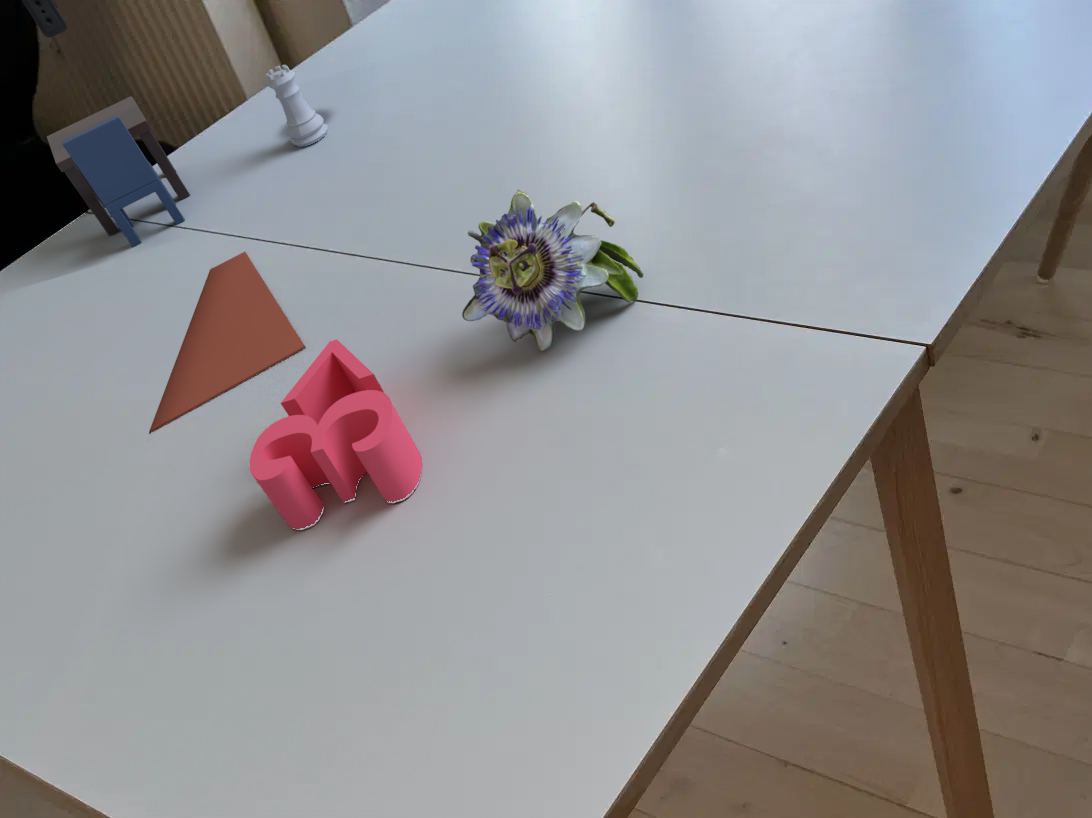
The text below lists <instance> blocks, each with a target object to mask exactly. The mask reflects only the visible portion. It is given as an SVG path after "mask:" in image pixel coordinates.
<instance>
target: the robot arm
mask: <svg viewBox="0 0 1092 818" xmlns="http://www.w3.org/2000/svg"><path fill="white" fill-rule="evenodd" d="M21 2H22V4H23V5H24V7H25V8H26V10H27V11H28V13H29V15H30V16H31V17H32V19H33V21H34V22H35V24H36V25H37V27H38V29H39V31H41V34H43V36H44V37H46V38H49V39H50V38H53V37H56V36H57V35H59V34H62V33H64V32H66V31H67V29H68V25H67V22H66V20H65V19H64V18H63V16H62V14H61V13H60V11H59V10H58V5H57V3H56V1H55V0H21Z"/></svg>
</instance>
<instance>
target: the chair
mask: <svg viewBox="0 0 1092 818" xmlns="http://www.w3.org/2000/svg"><path fill="white" fill-rule="evenodd" d="M62 145H63V146H64V148H65V149H66V151H67V152H68V154H69V155H70V157H71V158H72V159H73V161H74V162H75V164H76V165H77V167H78V168H79V170H80V171H81V173H82V174H83V175H84V177H85V178H86V180H87V181H88V183H89V184H90V186H91V187H92V189H93V190H94V191H95V193H96V194H97V196H98V197H99V199H100V200H101V202H102V203H103V205H104V206H105V209H106V211H107V212H108V214H109V215H110V217H111V218H112V220H113V221H114V222H115V224H116V225H117V227H118V229H119V230H120V231H121V232H122V234H123V236H124V237H125V239H126V240H127V241H128V243H129V244H130V245H131V247H132V248H134V247H136V246H138V245H140V244H141V243H142V240H141V239H140V237H139V236H138V234H137V233H136V231H135V230H134V228H133V227H134V223H133V221H132V219H130V217H129V215H128V214H127V212H126V211H125V210H124V208H126V207H128V206H130V205H132V204H134V203H136V202H138V201H140V200H142V199H145V198H146V197H148V196H150V195H152V194H154V193H155V194H156V195H157V197H158V199H159V200H160V202H161V203H162V205H163V206H164V208H165V210H166V211H167V213H168V215H169V216H170V217H171V219H172V220H173V222H174V223H175V225H179V224H181V223H182V222H183V223H184V222H185V221H186V220H185V218H184V216H183V214H182V213H181V211H180V210H179V208H178V206H177V203H176V202H175V200H174V198H173V196H172V195H171V193H170V192H169V191H168V188H167V187H166V186H165V184H164V183H163V181H162V179H161V178H160V176H159V175H158V172H156V170H155V168H154V167H153V165H152V164H151V162H150V161H148V159H147V158H146V156H145V155H144V153H143V152H142V150H141V149H140V147H139V145H138V143H137V142H136V140H135V139H134V138H133V137H132V136H131V134H130V133H129V131H128V130H127V128H126V126H125V125H124V123H123V122H122V120H121V119H120V117H119V115H116V116H114V117H112V118H110V119H108V120H106V121H103V122H101V123H99V124H97V125H95V126H93V127H91V128H89V129H87V130H85V131H83V132H81V133H79V134H76V135H74V136H72V137H70V138H68V139H66V140H64V141H62Z"/></svg>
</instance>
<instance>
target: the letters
mask: <svg viewBox="0 0 1092 818" xmlns="http://www.w3.org/2000/svg"><path fill="white" fill-rule="evenodd" d="M280 404H281V407H282V408H283V410H284V411H285V413H286V414H287V416H286V417H283V418H281V419H278V420H276V421H274V422H272V424H270V425H269V426H267V427H266V428H265V429H264V430H263V431H262V432H261V433H260V434H259V436H258V437H257V438H256V441H255V443H254V445H253V446H252V450H251V453H250V457H249V471H250V474H251V475H252V477H253V478H254V480H255V481H256V483H257V484H258V486H259V487H260V488H261V489H262V491H263V492H264V493H265V495H266V496H267V498H268V499H269V501H270V502H271V504H273V506H274V507H275V509H276V510H277V512H278V513H279V514H280V516H281V518H282V519H283V520H284V521H285V523H286V524H287V526H288V527H289V526H290V527H291V528H295V529H300V528H305V527H306V526H310V525H311V524H314V523H315V521H316V520H318V517H319V516H320V515H321V512H322V509H323V505H324V504H323V502H322V500H321V499H320V497H319V496H318V494H317V493H316V491H315V490H314V489H312V488H313V487H316V486H318V485H321V484H324V483H331V484H330V485H331V486H332V487H333V489H334V491H335V492H336V493H337V495H338V496H339V498H340V499H341V501H342V503H344V502H345V501H348V500H350V499H353V498H355V493H356V486H357V484H358V481H359V479H360V478H362V476H363V475H364V474H365V473H366V472H367V473H366V474H368V475H369V477H370V478H371V480H372V482H373V483H374V485H375V486H376V488H377V490H378V492H379V493H380V494H381V496H382V498H383V499H384V501H385V500H386V501H388V502H389V501H390V502H391V501H392V502H394V501H397V500H400V499H403V498H405V497H406V496H407V495H408V494H410V493H411V492H412V490H414V488H415V486H416V485H417V483H418V481H419V478H420V474H421V469H422V470H423V459H422V460H421V458H422V455H420V454H421V452H420V450H419V449H418V447H417V444H416V443H415V442H414V439H413V438H412V436H411V434H410V433H409V431H408V429H407V427H406V425H405V423H404V422H403V420H402V418H401V416H400V415H399V413H398V411H397V409H396V407H395V406H394V404H393V402H392V400H391V399H390V397H389V396H388V395H387V394H386V392H385V390H384V389H383V388H382V386H381V384H380V382H379V381H378V378H377V377H376V375H375V373H374V372H373V371H371V370H370V369H369V368H368V366H366V365H365V364H364V363H363V362H362V361H361V360H360V359H359V358H357V357H356V356H355V355H354V354H353V353H352V352H351V351H350V350H349V349H348V348H347V347H346V346H345V345H343V343H342V342H340V340H338V339H337V338H336V339H334V340H330V341H329V342H327V344H326V346H325V347H324V348H323V349H322V350H321V351H320V353H319V354H318V356H317V357H316V358H315V359H314V360H313V361H312V363H311V364H310V365H309V367H308V368H307V369H306V370H305V372H304V373H303V374H302V375H301V376H300V378H299V379H298V380H297V382H296V383H295V384H294V385H293V387H292V388H291V389H290V390H289V391H288V393H287V394H286V396H285V397H284V398H283V399H282V400H281V402H280ZM366 474H365V475H366ZM365 475H364V476H365ZM364 476H363V477H364ZM362 479H363V478H362ZM386 501H385V502H386ZM290 527H289V528H290ZM291 528H290V529H291Z"/></svg>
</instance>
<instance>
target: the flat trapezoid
mask: <svg viewBox="0 0 1092 818" xmlns="http://www.w3.org/2000/svg"><path fill="white" fill-rule="evenodd" d="M208 271H209V272H208V274H207V277H206V279H205V282H204V283H203V287H202V290H201V292H200V295H199V298H198V301H197V303H196V306H195V308H194V311H193V314H192V317H191V319H190V322H189V325H188V327H187V330H186V332H185V335H184V338H183V340H182V342H181V346H180V348H179V351H178V354H177V356H176V358H175V361H174V364H173V367H172V368H171V369H172V370H171V372H170V375H169V377H168V381H167V383H166V386H165V388H164V391H163V393H162V396H161V399H160V402H159V404H158V407H157V410H156V412H155V415H154V417H153V420H152V422H151V426H150V428H149V430H148V431H149V433H153V432H155V431H156V430H158V429H160V428H162V427H164V426H165V425H168V424H169V423H171V422H173V421H174V420H176V419H179V418H180V417H182V416H184V415H186V414H188V413H189V412H191V411H193V410H194V409H196V408H199V407H200V406H202V405H204V404H206V403H208V402H210V401H211V400H213V399H216V398H217V397H218V396H220V395H222V394H225V393H226V392H228V391H230V390H231V389H234V388H235V387H237V386H239V385H241V384H243V383H244V382H246V381H248V380H249V379H251V378H254V377H255V376H257V375H259V374H261V373H263V372H265V371H266V370H268V369H270V368H272V367H273V366H276V365H277V364H279V363H280V362H283V361H284V360H286V359H288V358H290V357H293V356H294V355H295V354H297V353H299V352H301V351H303V350H305V349H306V348H307V347H306V345H305V344H304V342H303V340H302V339H301V338H300V335H298V332H297V331H296V330H295V328H294V327H293V324H292V323H291V322H290V320H289V318H288V317H287V315H286V314H285V312H284V311H283V309H282V308H281V306H280V304H279V303H278V301H277V299H276V298H275V296H274V295H273V292H271V290H270V289H269V287H268V285H267V284H266V282H265V281H264V279H263V278H262V276H261V275H260V273H259V271H258V269H257V268H256V267H255V265H254V263H253V262H252V260H251V259H250V257H249V256H248V253H247V252H246V251H243V252H241V253H238V254H236V255H235V256H232V257H231V258H229V259H228V260H225V261H223V262H222V263H219V264H218V265H215V266H214V267H212V268H210V269H209V270H208Z"/></svg>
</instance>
